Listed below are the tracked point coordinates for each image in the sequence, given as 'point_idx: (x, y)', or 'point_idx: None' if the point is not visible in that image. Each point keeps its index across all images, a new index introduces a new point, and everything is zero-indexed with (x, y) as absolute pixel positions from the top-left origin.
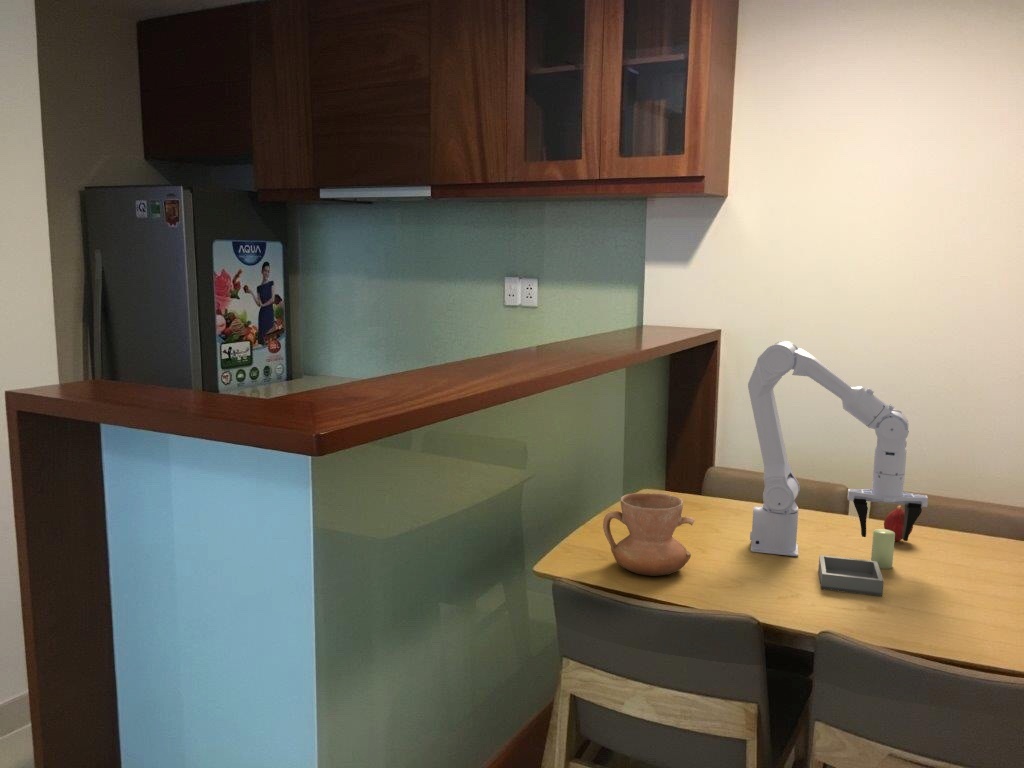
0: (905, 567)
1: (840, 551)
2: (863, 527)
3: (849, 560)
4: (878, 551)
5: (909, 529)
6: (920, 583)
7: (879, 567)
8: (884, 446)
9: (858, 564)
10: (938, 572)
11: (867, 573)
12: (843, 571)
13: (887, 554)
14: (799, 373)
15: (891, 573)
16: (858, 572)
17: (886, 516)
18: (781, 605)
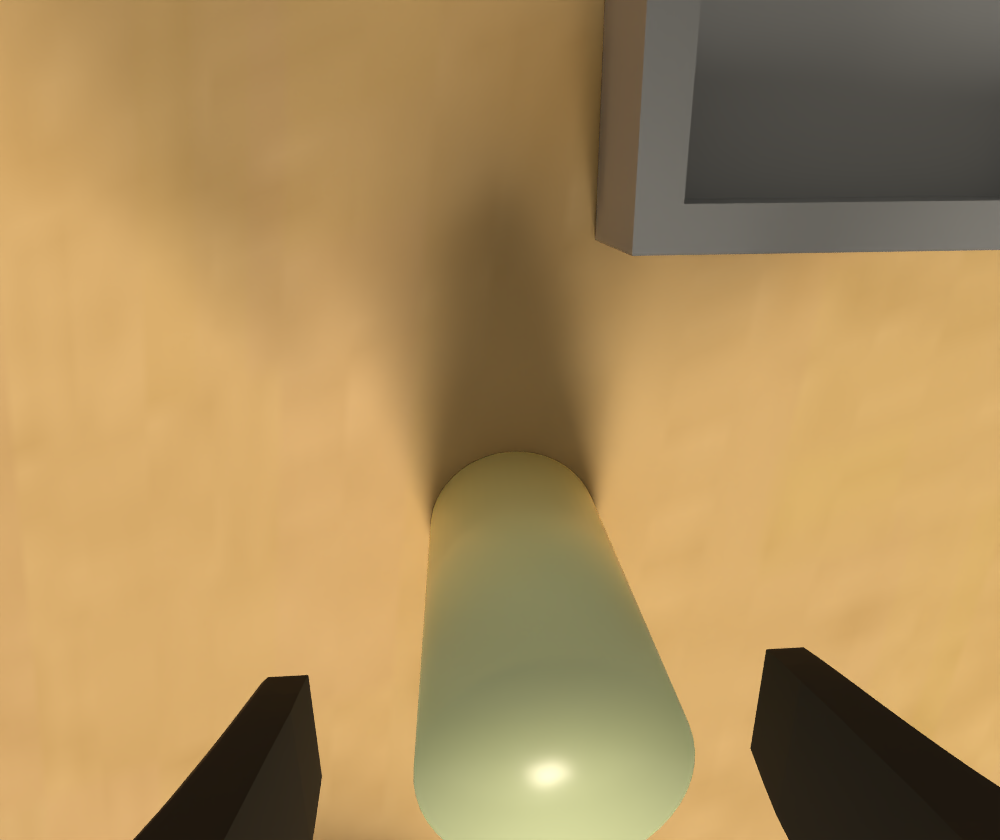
0: (325, 546)
1: None
2: (895, 729)
3: (931, 201)
4: (582, 532)
5: (180, 809)
6: (203, 177)
7: (539, 455)
8: None
9: (815, 201)
10: (62, 525)
11: (687, 198)
12: (907, 173)
13: (489, 522)
14: None
15: (450, 361)
16: (769, 192)
17: None
18: None
